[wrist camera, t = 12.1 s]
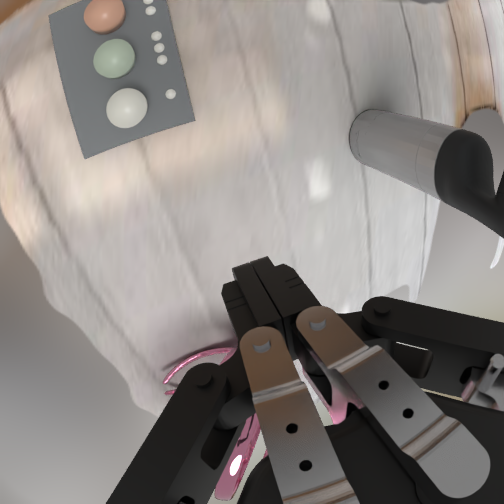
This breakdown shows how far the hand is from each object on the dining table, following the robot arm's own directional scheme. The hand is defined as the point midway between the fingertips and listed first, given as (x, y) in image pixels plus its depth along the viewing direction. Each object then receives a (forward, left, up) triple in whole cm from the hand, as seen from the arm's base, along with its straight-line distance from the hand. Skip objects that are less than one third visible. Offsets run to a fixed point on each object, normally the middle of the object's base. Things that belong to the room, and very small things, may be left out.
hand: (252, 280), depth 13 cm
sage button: (+5, -14, -27) cm, 31 cm away
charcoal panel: (+5, -14, -29) cm, 33 cm away
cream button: (+5, -8, -27) cm, 28 cm away
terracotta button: (+5, -20, -27) cm, 34 cm away
